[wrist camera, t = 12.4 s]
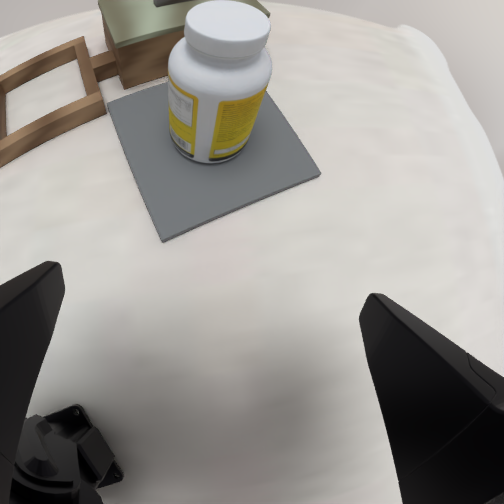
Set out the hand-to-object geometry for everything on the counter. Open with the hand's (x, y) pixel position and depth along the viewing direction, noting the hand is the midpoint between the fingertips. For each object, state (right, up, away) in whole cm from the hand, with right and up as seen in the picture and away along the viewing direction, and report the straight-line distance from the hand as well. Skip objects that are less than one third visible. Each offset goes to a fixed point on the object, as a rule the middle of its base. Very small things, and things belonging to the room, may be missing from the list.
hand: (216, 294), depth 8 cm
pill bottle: (-3, +11, +16) cm, 20 cm away
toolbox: (-12, +19, +17) cm, 28 cm away
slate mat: (-3, +11, +17) cm, 20 cm away
